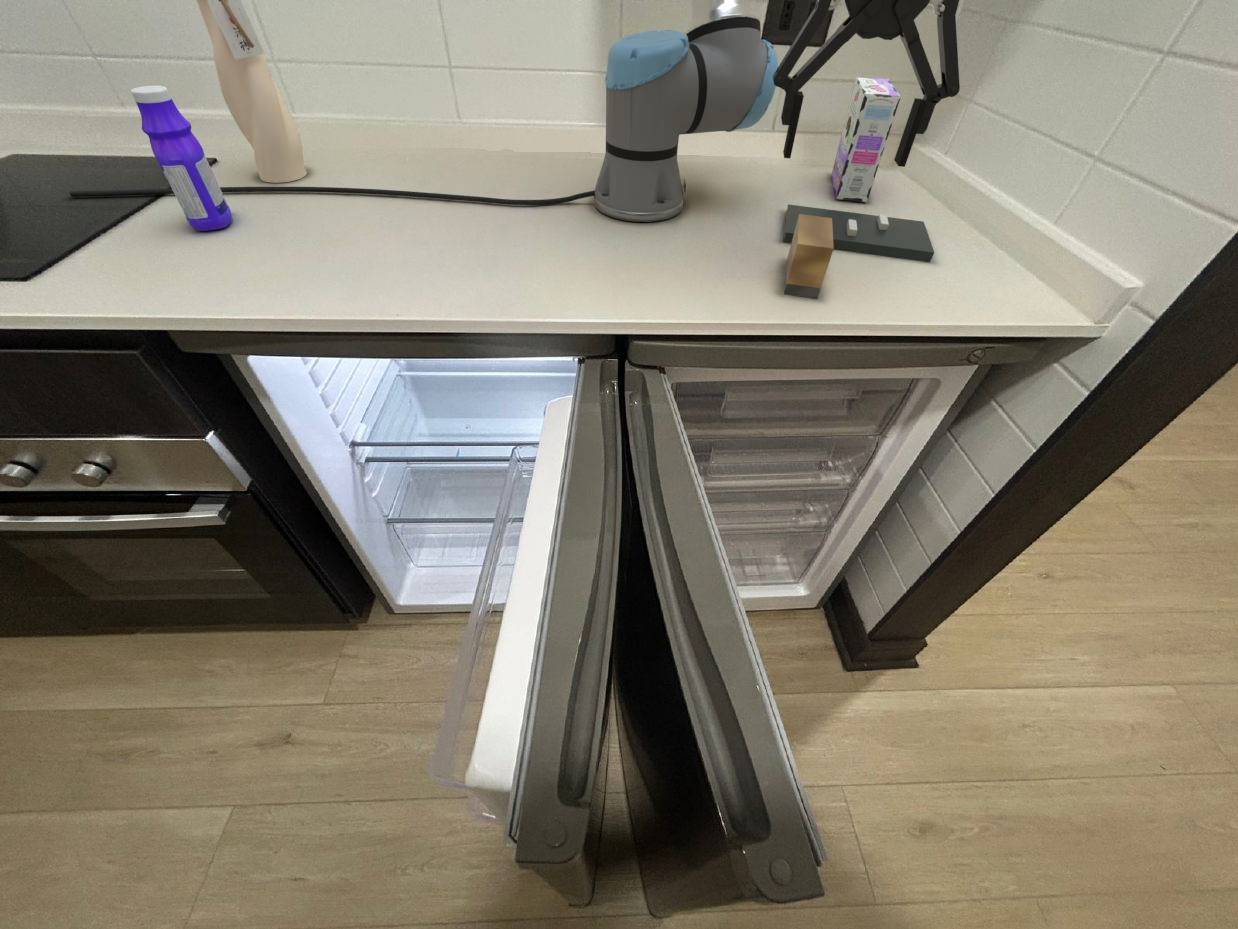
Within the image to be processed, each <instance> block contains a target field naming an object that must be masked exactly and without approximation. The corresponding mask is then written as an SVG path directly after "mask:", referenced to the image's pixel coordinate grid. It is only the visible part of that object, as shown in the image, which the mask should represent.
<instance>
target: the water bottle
mask: <svg viewBox="0 0 1238 929" xmlns="http://www.w3.org/2000/svg"><path fill="white" fill-rule="evenodd" d="M196 3H197V5H198V9H199V11H200V13H201V16H202V19H203V22H204V25H205V27H206V30H207V32H208V35H209V38H210V40H211V43H212V49H213V50H212V51H213V52H212V53H213V60H214V61H213V62H214V66H215V70H216V75H217V78H218V82H219V83H218V84H219V87H220V92H221V94H222V97H223V100H224V102H225V104H226V106H227V108H228V110H229V113H230V114H231V116H232V118H233V121H235V124H236V125H237V127H238V129H239V130H240V132H241V133H242V135H243V137H244V138H245V139H246V140H247V142H248V144H249V145H250V146H251V147H252V149H253V152H254V155H253V156H254V162H255V165H256V170H257V172H258V176H259V179H260V180H261V181H263V182H266V183H270V184H271V183H274V184H281V183H289V182H294V181H298V180H301V179H303V178H305V176H307V173H308V172H307V169H306V166H305V161H304V151H303V150H304V149H303V142H302V139H301V134H300V132H299V130H298V126H297V124H296V121H295V119H294V117H293V114H292V112H291V110H290V108H289V106H288V105H287V102H286V100H285V98H284V96H283V94H282V92H281V91H280V89H279V88H278V86H277V84H276V82H275V80H274V78H273V77H272V73H271V70H270V68H269V64H268V61H267V58H266V56H265V54H266V53H265V51H264V48H263V47H262V44H261V42H260V40H259V38H258V35H257V33H256V30H255V28H254V27H253V24H252V23H251V20H250V18H249V15H248V14H247V11H246V9H245V6H244V5H243V2H242V0H196Z"/></svg>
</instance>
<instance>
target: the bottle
mask: <svg viewBox="0 0 1238 929" xmlns="http://www.w3.org/2000/svg"><path fill="white" fill-rule="evenodd" d="M130 93H131V95H132V97H133V99H134V101H135V104H136V105H137V108H138V110H139V113H140V118H141V130H142V132H143V133H144V134H146V135H147V136H148V138H149V143H150V148H151V151H152V154H153V155H154V158H155V160H156V161H157V163H158V165H159V166H160V169H161V170H162V172H163V174H164V176H165V178H166V180H167V183H168V184H169V186H170V187H171V188H170V189H172V190H173V192H174V194H173V195H174V196H175V198H176V200H177V202H178V204H179V206H180V208H181V210H182V212H183V214H184V216H185V219H186V221H187V222H188V224H189V225H190V226H191V227H192V228H193V229H195V230H196V231H198V232H199V231H201V232H202V231H204V232H205V231H206V232H207V231H215V230H221V229H224V228H227V226H229V225H230V224H231V222H232V218H233V216H232V211H231V208H230V206H229V204H228V202H227V200H226V197H225V196H224V194H223V193H222V191H221V189H220V187H221V186H220V185H219V182H218V181H217V178H216V176H215V174H214V172H213V170H212V167H211V165H210V164H209V161H208V159H207V157H206V154H205V152H204V148H203V147H202V145H201V143H200V141H199V140H198V138H197V137H196V136H195V135H194V133H193V132H192V124H191V122H190V121H188V120H187V118H185V116H184V115H183V114H182V113H181V112H180V111H179V109H178V108H177V105H176V104H175V102H174V101H173V98H172V96H171V94H170V92H169V90H168V88H167V87H166V86H163V85H143V86H137V87H134V88H131V89H130Z"/></svg>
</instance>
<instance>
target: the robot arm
mask: <svg viewBox="0 0 1238 929" xmlns="http://www.w3.org/2000/svg"><path fill="white" fill-rule="evenodd" d="M841 1H842V0H816V2H815V5H814V8H813V9H812V11H811V12H810V15H809V16H808V18H807V19H806V21H805V22H804V24H803V25H802V28H800V31H799V33H798V34H797V36H796V37H795V39H794V41H793V42H792V44H791V46H790V47H789V49H788V50H787V52H786V53H785V55H784V56H783V59H782V60H781V62H780V63H779V59H778V54H777V51H776V50H775V49H774V45H773V44H772V43H771V42H769V41H768V40H766V39H762V30H761V18H760V17H759V16H757V15H756V14H755V12H754V11H752V9H751V8H750V0H690V9H691V23H690V25H689V26H688V28H687V30H686V31H685V32H683V31H680V30H679V31H678V30H670V29H667V30H666V29H664V30H648V31H642V32H636V33H632V34H629V35H626V36H623V37H621V38H619V39H618V40H616V41H615V42H614V43H613V44H612V45H611V46H610V48H609V50H608V53H607V62H606V63H607V64H606V76H605V80H604V82H605V152H604V158H603V160H602V161H603V162H602V163H601V164H602V165H601V167H600V171H599V174H598V177H597V181H596V184H595V188H594V190H590V191H589V190H588V191H585V192H580V193H576V194H572V195H569V196H564V197H563V196H562V197H557V198H546V199H545V198H543V199H511V198H510V199H509V198H508V199H507V198H497V197H487V196H486V197H485V196H476V195H462V194H452V193H451V194H449V193H436V192H425V191H424V192H423V191H410V190H395V189H379V188H358V187H337V186H336V187H334V186H332V187H330V186H219V187H220V189H221V191H222V193H225V194H226V193H333V194H357V195H358V194H360V195H378V196H379V195H380V196H395V197H396V196H397V197H411V198H425V199H436V200H449V201H462V202H463V201H464V202H475V203H487V204H497V205H509V206H548V205H557V204H565V203H571V202H574V201H577V200H582V199H585V198H590V197H593V204H594V207H595V208H596V209H597V210H598V211H599V212H600V213H602V214H603V215H606V216H608V217H610V218H613V219H617V220H622V221H627V222H634V223H635V222H636V223H650V222H660V221H664V220H668V219H671V218H674V217H675V216H677V215H679V214H680V213H681V212H682V210H683V207H684V194H686V193H687V192H686V191H687V182H686V180H685V178H683V183H682V179H681V173H680V169H679V168H680V167H679V162H678V149H679V140H680V139H679V138H680V136H681V135H692V134H704V133H715V132H716V133H717V132H726V133H732V132H734V131H736V130H743V129H749V128H751V127H753V126H754V125H756V124H757V123H758V122H760V121H761V120H762V118H763V117H764V116H765V114H766V112H767V111H768V109H769V106H770V105H771V103H772V101H773V99H774V98H773V97H774V95H775V91H776V87H777V88H780V89H781V90H783V91H784V92H785V96H784V101H783V106H782V110H781V116H780V120H781V126H787V132H786V136H785V141H784V147H783V150H782V151H783V152H782V153H783V158H784V159H791V157H792V153H793V149H794V143H795V138H796V134H797V130H798V125H799V120H800V115H801V111H802V106H803V102H804V97H805V96H804V93H803V91H801V90H802V88H803V87H804V86H805V85H806V84H807V83H808V82H809V81H810V80H811V79H812V78H813V77H814V76H815V74H816V73H818V72H819V70H821V69H822V67H824V65H825V64H827V62H828V61H829V60H830V59H831V58H832V57H833V56H834V55H835V54H836V53H837V52H839V50H840V49H841V48H842V47H843V46H844V45H845V44H846V43H848V42H849V41H850V40H851V39H852V38H853V37H854V36H855V35H857V36H858V37H859V38H861V39H863V40H871V39H876V38H880V39H882V40H884V41H893V39H896V38H898V37H900V40H901V42H902V44H903V46H904V49H905V51H906V54H907V56H908V59H909V61H910V65H911V67H912V69H913V72H914V74H915V77H916V80H917V83H918V85H919V87H920V90H921V93H922V95H923V96H922V98H916V97H914V100H913V103H912V105H911V109H910V111H909V114H908V116H907V120H906V124H905V126H904V130H903V132H902V136H901V139H900V141H899V144H898V147H897V151H896V153H895V157H894V159H893V160H894V161H895V164H896V165H897V166H898V167H901V168H905V167H906V165H907V161H908V160H909V157H910V153H911V151H912V149H913V145H914V143H915V142H914V141H915V139H916V136H917V135H924V134H925V133H926V131H927V130H928V127H929V124H930V121H931V119H932V116H933V113H934V110H935V109H936V108H935V107H936V105H937V104H938V103H941V100H944V99H947V98H953V97H956V96H957V95H958V94H959V92H960V89H961V88H960V87H961V86H960V71H959V70H960V69H959V67H960V66H959V50H958V36H957V34H958V33H957V20H956V18H957V17H956V14H957V11H958V7H959V3H960V0H844V3H845V6H846V10H847V13H848V17H847V18H846V19H845V20H844V21H843V22H842V23H841V24H840V25H839V26H838V27H837V28H836V30H835V31H834V33H833V34H832V35H831V36H829V37H828V39H827V40H825V42H824V43H823V44H822V45H821V46H820V47H819V48H818V49H817V50H816V51H815V52H814V54H813V55H812V56H810V57H809V59H808V60H807V61H806V62H805V63H804V64H803V65H802V66H801V67H800V68H799V69H798V70H797V71H796V72H795V74H794V75H792V76H790V74H791V72H792V70H794V68H795V66H796V64H797V63H798V61H799V59H800V58H801V57H802V55H803V53H804V51H805V50H806V48H807V47H808V45H809V44H810V42H811V41H812V39H813V37H814V36H815V34H816V33H817V31H818V30H819V28H820V26H821V24H822V23H823V22H824V19H825V18H826V16H827V14H828V12H829V11H833V10H835V9H836V7H837V6H838V4H839V3H840V2H841ZM929 4H930V5H931V8H932V9H931V10H932V13H933V14H934V15H936V25H937V26H936V27H937V28H936V30H937V40H938V54H939V68H940V80H941V83H939V84H938V83H937V81H936V78H935V76H934V73H933V70H932V67H931V65H930V62H929V60H928V57H927V54H926V51H925V48H924V45H923V42H922V40H921V38H920V37H921V36H920V32H919V29H918V27H917V24H916V22H915V20H916V19H917V17H918V16H920V15H921V14H922V12H923V11H924V10H925V9H926V7H928V5H929ZM69 195H70V196H71V197H72V198H82V197H84V198H86V197H87V198H89V197H120V196H121V197H123V196H151V195H152V196H155V195H175V194H174V192H173V190H172V188H148V189H147V188H146V189H143V188H142V189H112V190H70V191H69Z"/></svg>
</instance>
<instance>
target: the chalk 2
mask: <svg viewBox="0 0 1238 929" xmlns="http://www.w3.org/2000/svg"><path fill="white" fill-rule="evenodd" d="M877 216H878V219H877V222H878V227H879V230H887V228H888V226H889V223H888V219H887V217H888V214H885V213H884V214H883V213H879V214H878V215H877Z"/></svg>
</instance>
